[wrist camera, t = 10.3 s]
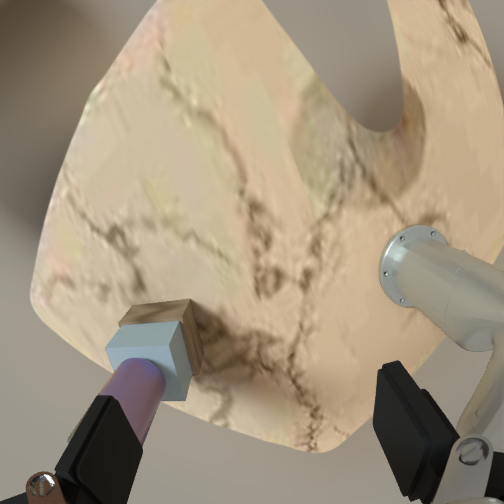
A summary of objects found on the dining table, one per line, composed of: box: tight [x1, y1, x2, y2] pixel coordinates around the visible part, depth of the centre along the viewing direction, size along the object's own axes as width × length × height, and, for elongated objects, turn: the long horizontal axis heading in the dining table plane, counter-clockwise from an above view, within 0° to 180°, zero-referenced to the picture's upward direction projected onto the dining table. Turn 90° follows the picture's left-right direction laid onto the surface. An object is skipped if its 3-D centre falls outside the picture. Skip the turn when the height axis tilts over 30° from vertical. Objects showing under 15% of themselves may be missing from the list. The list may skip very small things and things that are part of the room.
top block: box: [105, 321, 193, 401], centre depth 36 cm, size 8×8×6 cm
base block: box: [118, 299, 204, 376], centre depth 41 cm, size 9×9×6 cm
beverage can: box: [65, 358, 166, 449], centre depth 25 cm, size 6×6×15 cm
